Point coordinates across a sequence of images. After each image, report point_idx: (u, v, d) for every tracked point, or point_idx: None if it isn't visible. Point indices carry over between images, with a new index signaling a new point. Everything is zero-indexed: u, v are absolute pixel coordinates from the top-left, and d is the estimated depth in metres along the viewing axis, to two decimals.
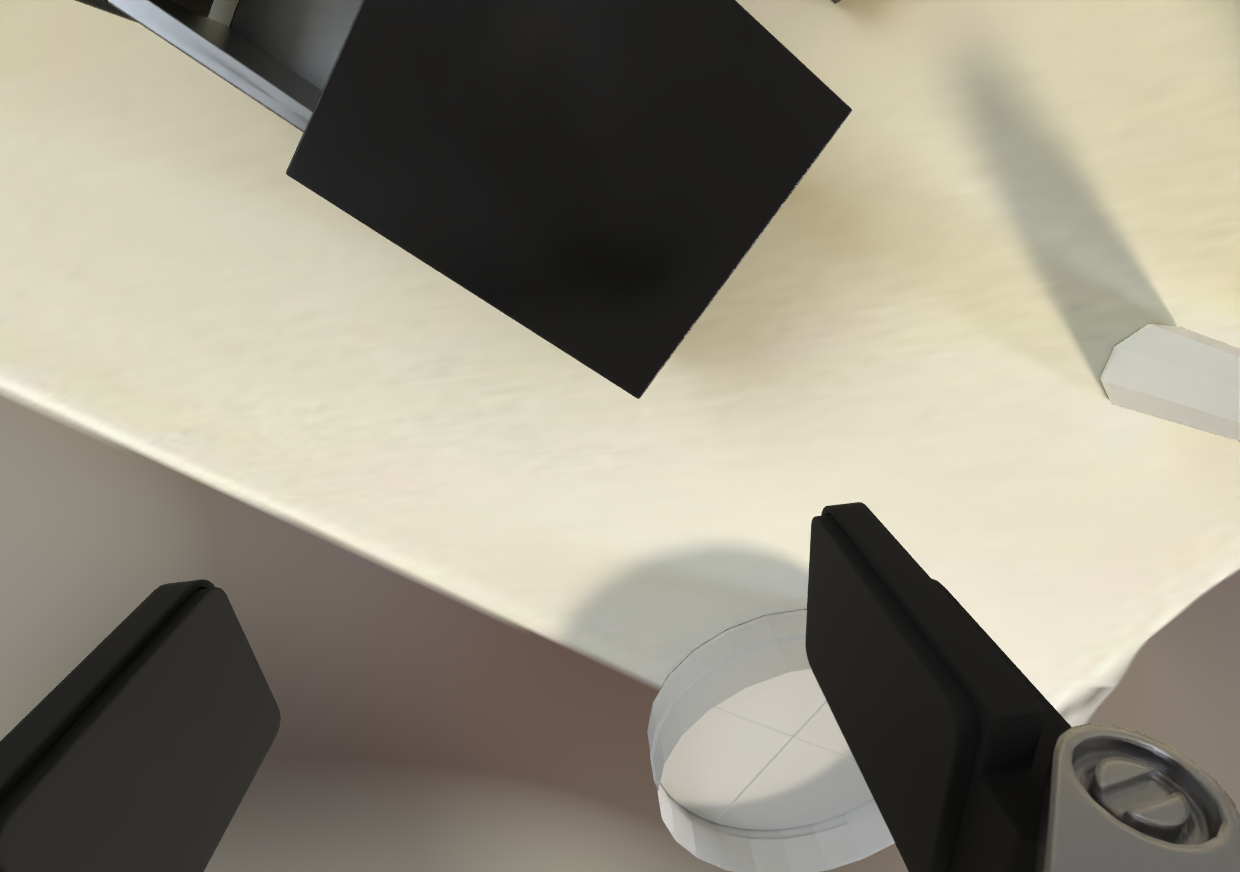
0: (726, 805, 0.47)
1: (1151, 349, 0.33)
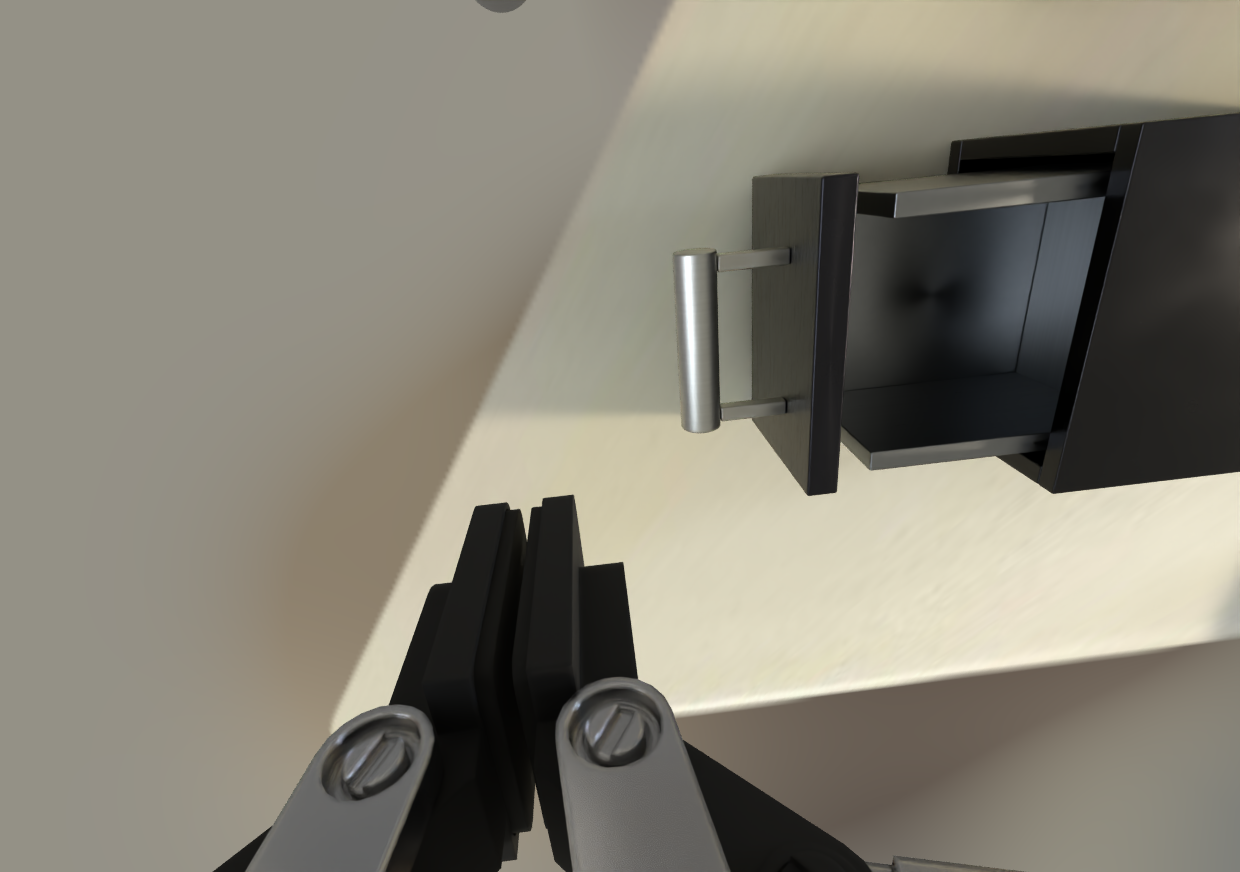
0: None
1: None
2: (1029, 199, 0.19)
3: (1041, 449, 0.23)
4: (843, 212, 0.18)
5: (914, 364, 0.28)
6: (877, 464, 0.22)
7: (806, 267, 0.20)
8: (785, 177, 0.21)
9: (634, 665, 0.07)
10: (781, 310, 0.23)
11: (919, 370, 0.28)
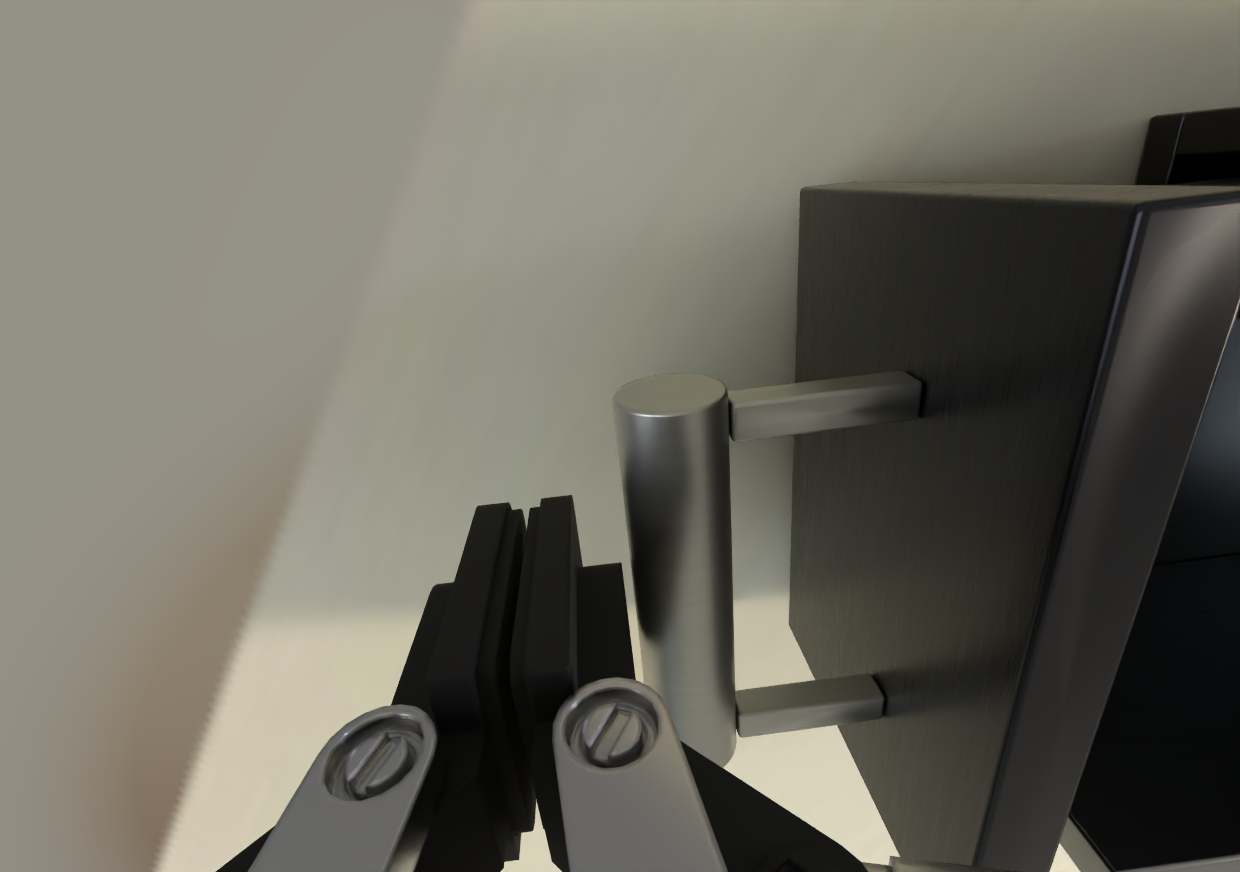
0: None
1: None
2: None
3: None
4: (1190, 330, 0.05)
5: None
6: None
7: (995, 464, 0.07)
8: (911, 195, 0.08)
9: (632, 665, 0.07)
10: (880, 504, 0.10)
11: None
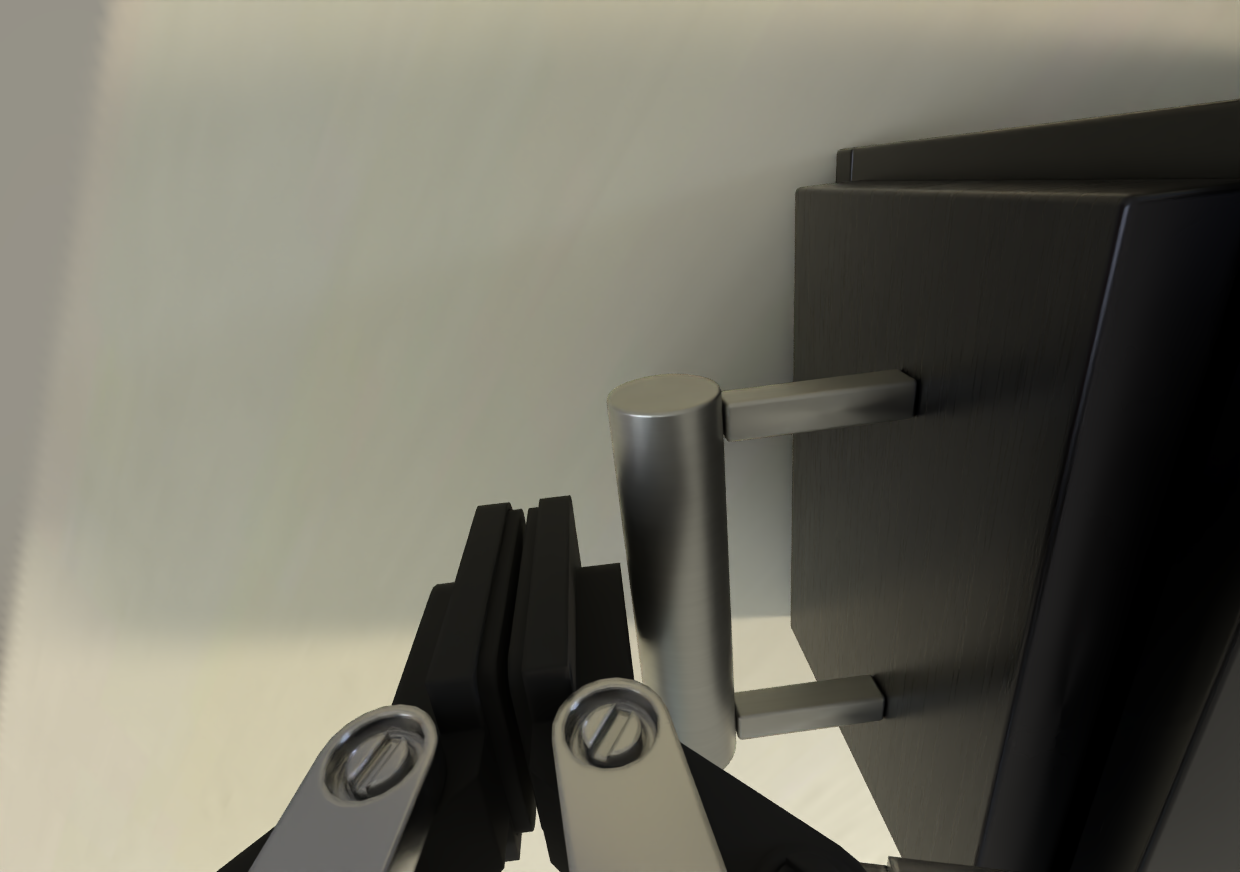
0: None
1: None
2: None
3: None
4: (1181, 323, 0.05)
5: None
6: None
7: (988, 461, 0.07)
8: (904, 193, 0.08)
9: (630, 666, 0.07)
10: (878, 504, 0.10)
11: None
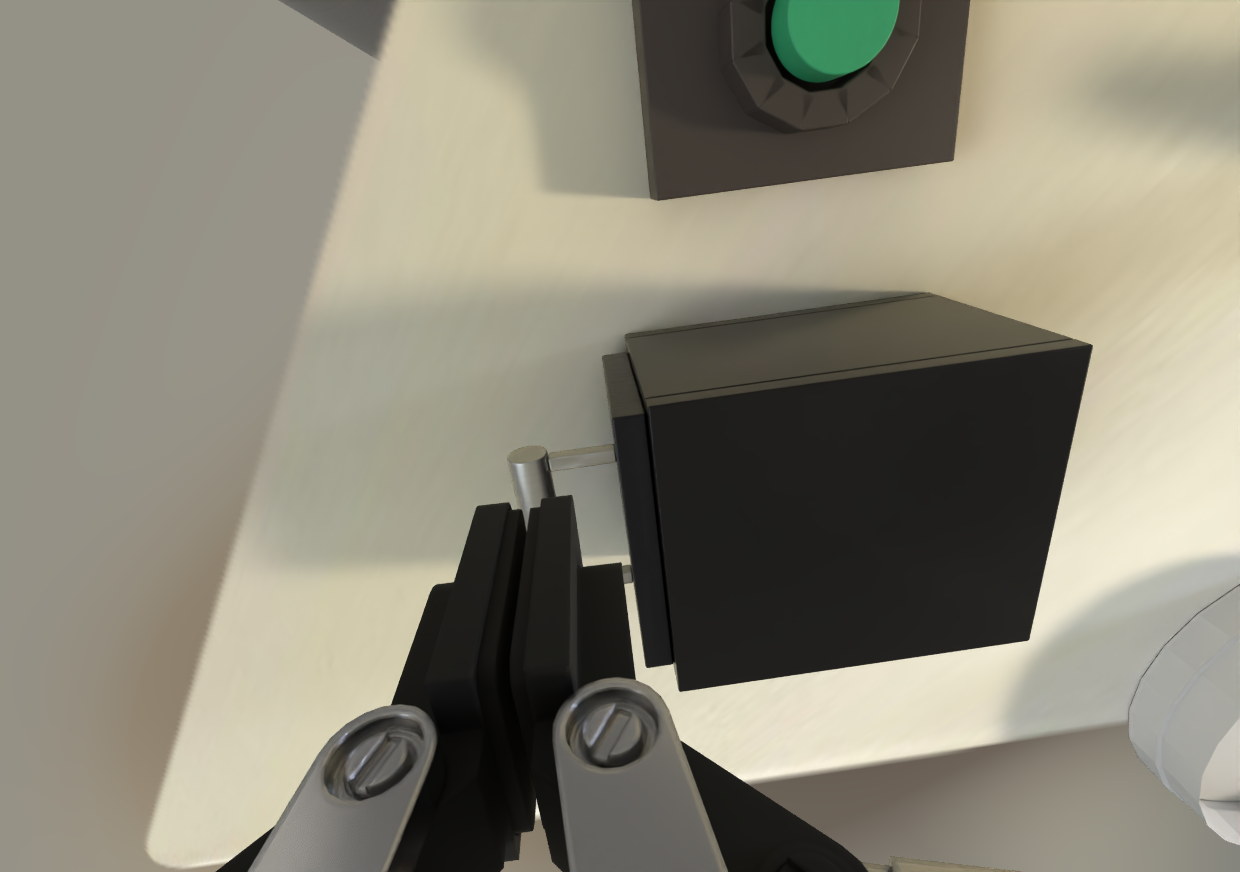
0: None
1: None
2: None
3: None
4: (636, 445, 0.20)
5: None
6: None
7: None
8: (607, 385, 0.23)
9: (632, 666, 0.07)
10: None
11: None
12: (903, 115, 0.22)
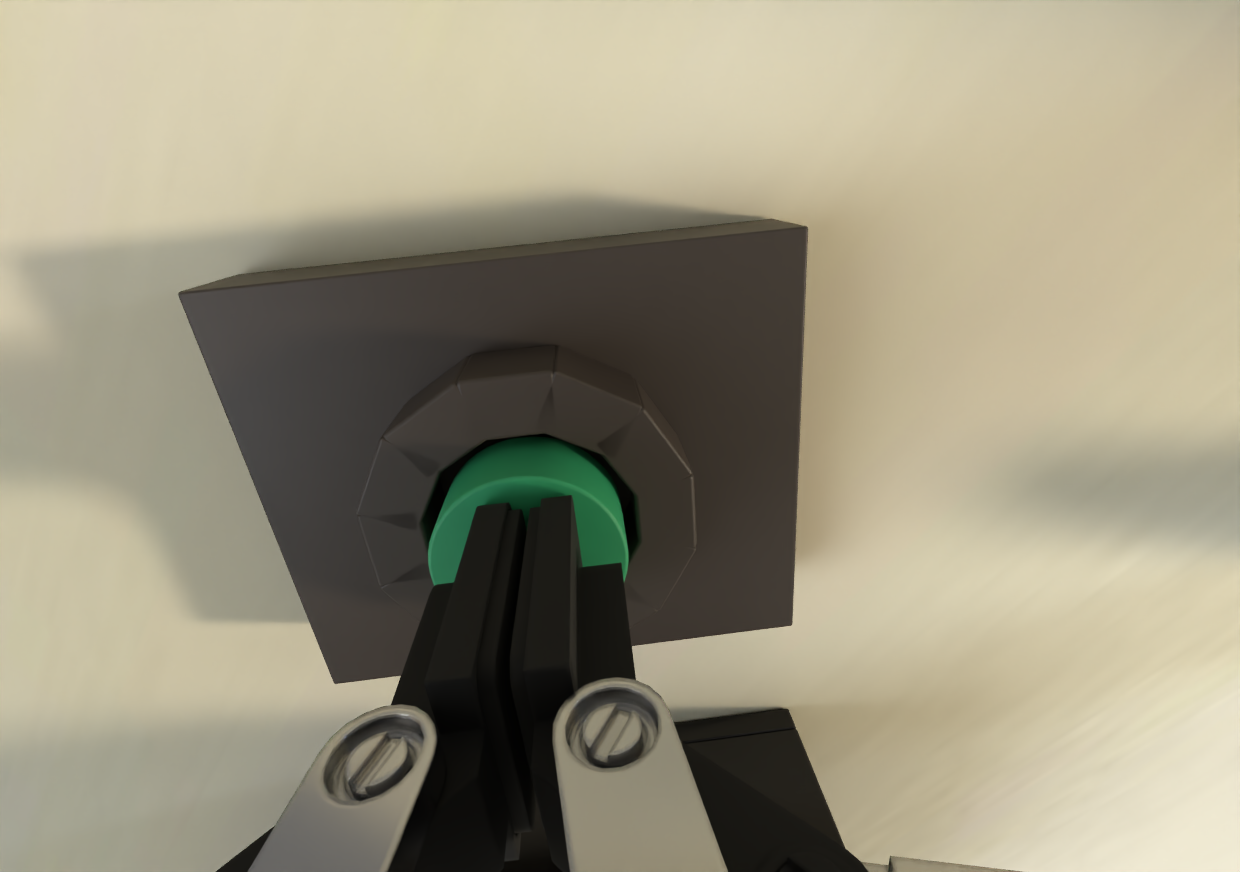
0: None
1: None
2: None
3: None
4: None
5: None
6: None
7: None
8: None
9: (632, 665, 0.07)
10: None
11: None
12: (708, 579, 0.15)
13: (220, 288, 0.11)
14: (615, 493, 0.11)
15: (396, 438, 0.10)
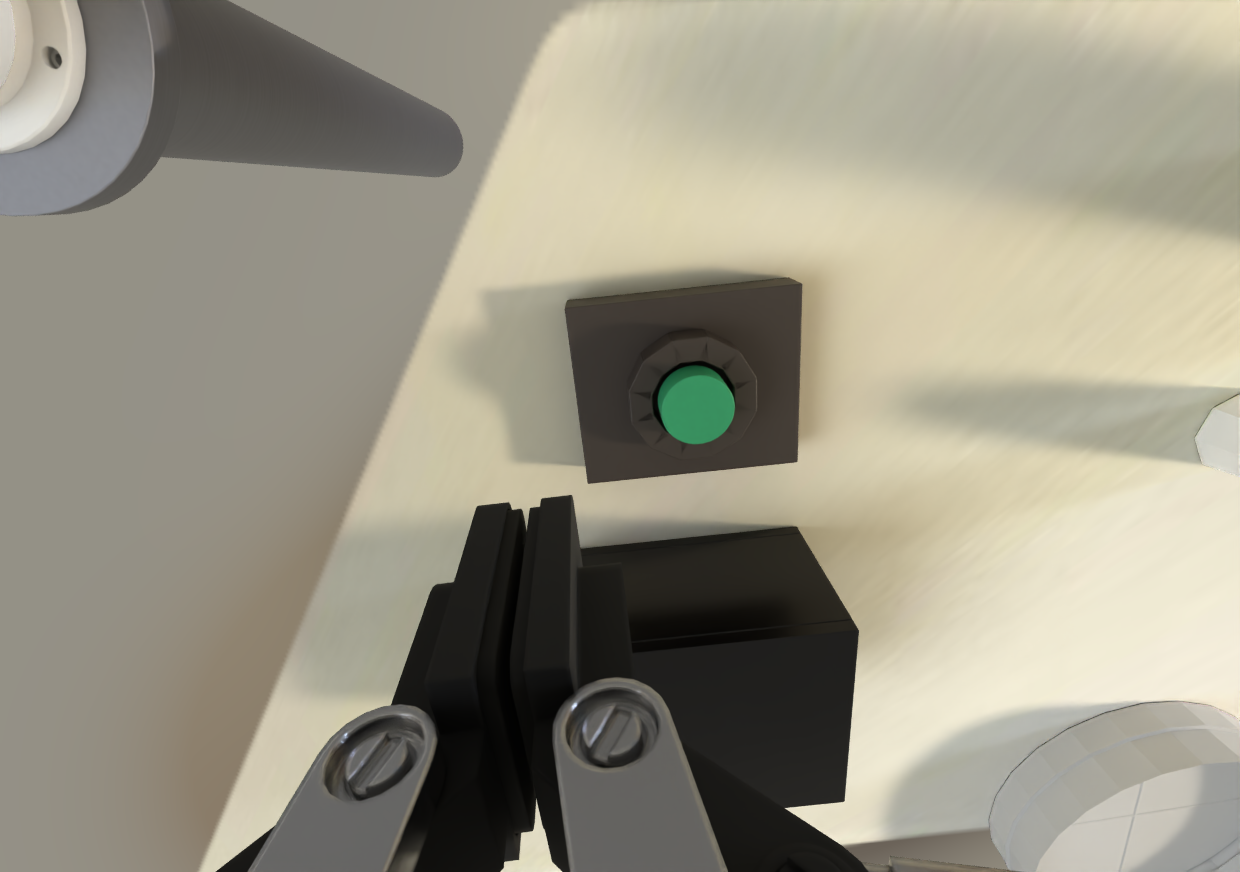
0: None
1: (1229, 442, 0.34)
2: None
3: None
4: None
5: None
6: None
7: None
8: None
9: (632, 665, 0.07)
10: None
11: None
12: (759, 436, 0.32)
13: (580, 306, 0.29)
14: None
15: (649, 361, 0.29)
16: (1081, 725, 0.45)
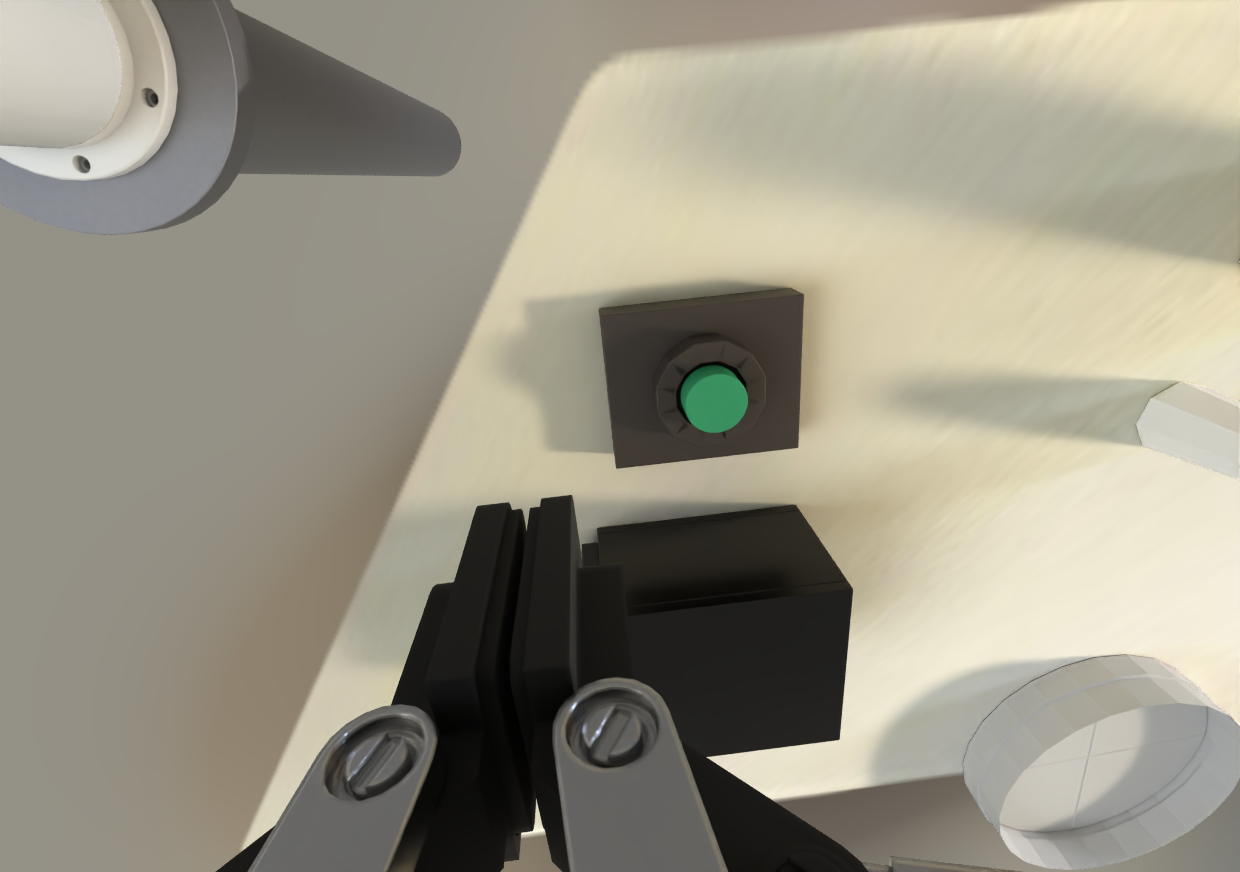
0: (1072, 815, 0.58)
1: (1164, 426, 0.40)
2: None
3: None
4: None
5: None
6: None
7: None
8: None
9: (632, 665, 0.07)
10: None
11: None
12: (765, 425, 0.37)
13: (613, 314, 0.34)
14: None
15: (674, 362, 0.33)
16: (1042, 678, 0.51)
